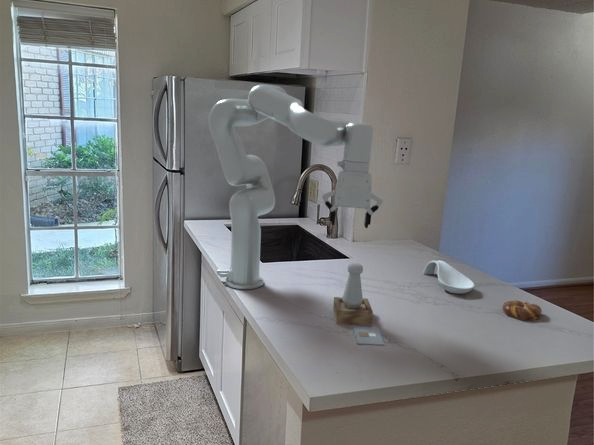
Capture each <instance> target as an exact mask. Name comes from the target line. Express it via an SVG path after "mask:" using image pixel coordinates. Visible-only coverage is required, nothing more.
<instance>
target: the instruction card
mask: <svg viewBox="0 0 594 445" xmlns="http://www.w3.org/2000/svg"><path fill="white" fill-rule="evenodd" d="M352 329H353V332H354V336H355V339H356V343H357V345H369V346H371V345H373V346H374V345H375V346H385V345H386V344H385V342H384V339H383V336H382V334H381V331H380V329H379V327H375V326H374V327H371V326H355V325H354V326H352Z"/></svg>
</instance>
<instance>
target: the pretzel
mask: <svg viewBox="0 0 594 445" xmlns="http://www.w3.org/2000/svg"><path fill="white" fill-rule="evenodd" d="M502 311H503V313H504V314H505V315H506V316H507V317H511V318H513V317H514V319H518V320H519V321H523V322H528V321H532V320H533V319H535V320H539V319H540V318H541V316H542V312H543V311H542V308H541V307H540V306H539V305H537V304H536V303H532V304H531V303H530V302H528V301H526V302H525V301H524V302H523V301H521V300H508V301H505V302H504V303H503V305H502Z"/></svg>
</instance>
